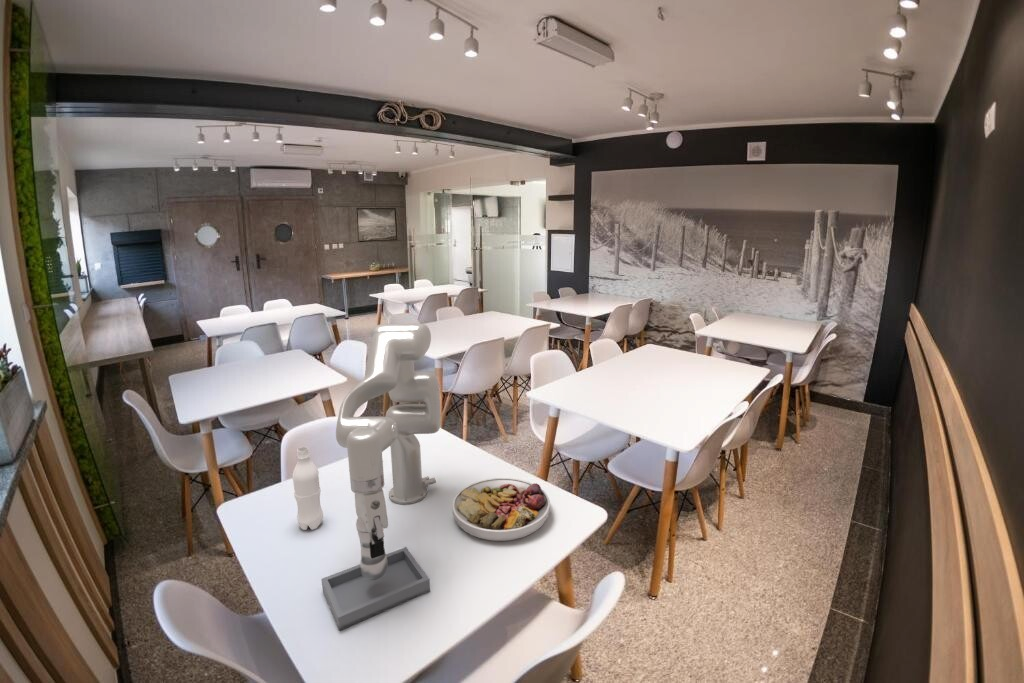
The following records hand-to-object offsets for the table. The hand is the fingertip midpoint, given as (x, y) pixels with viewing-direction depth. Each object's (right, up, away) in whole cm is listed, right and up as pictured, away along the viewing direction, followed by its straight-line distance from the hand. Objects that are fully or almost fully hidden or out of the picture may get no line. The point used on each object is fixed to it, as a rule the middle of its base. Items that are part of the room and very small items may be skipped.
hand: (372, 547), depth 120 cm
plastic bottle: (0, -8, +2) cm, 8 cm away
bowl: (+30, -5, +34) cm, 46 cm away
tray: (0, -12, +3) cm, 12 cm away
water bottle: (-27, -6, +30) cm, 41 cm away
